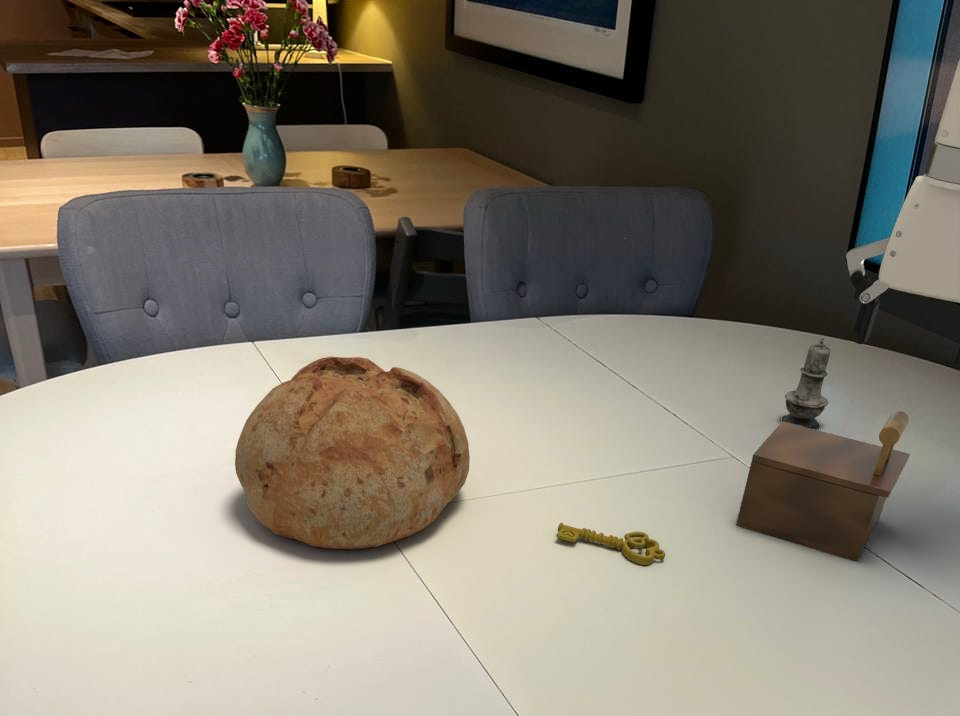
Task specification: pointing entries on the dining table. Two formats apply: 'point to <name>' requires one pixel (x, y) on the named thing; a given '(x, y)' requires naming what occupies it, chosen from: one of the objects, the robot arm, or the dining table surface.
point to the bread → (351, 455)
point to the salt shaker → (809, 389)
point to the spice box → (809, 511)
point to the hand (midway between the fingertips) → (910, 351)
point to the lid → (838, 456)
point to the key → (617, 543)
